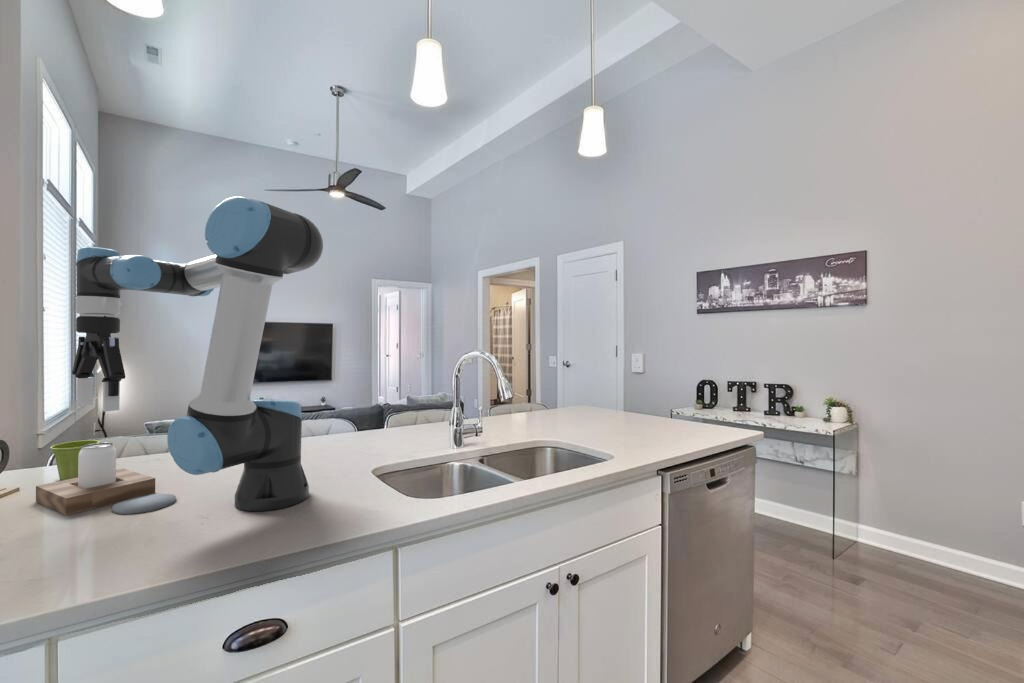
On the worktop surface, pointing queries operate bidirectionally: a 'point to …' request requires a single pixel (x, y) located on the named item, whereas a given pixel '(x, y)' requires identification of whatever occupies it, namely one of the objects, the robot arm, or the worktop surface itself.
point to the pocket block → (93, 492)
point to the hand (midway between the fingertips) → (97, 408)
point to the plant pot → (69, 457)
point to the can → (96, 465)
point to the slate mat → (144, 503)
